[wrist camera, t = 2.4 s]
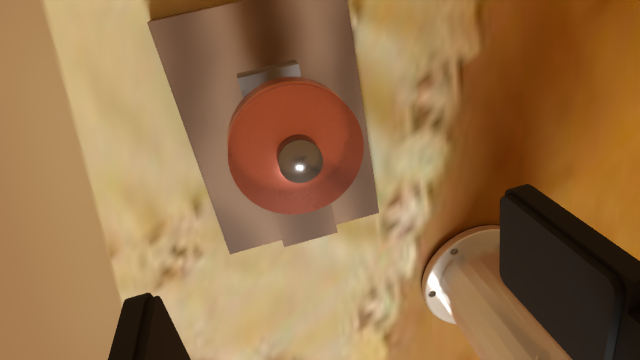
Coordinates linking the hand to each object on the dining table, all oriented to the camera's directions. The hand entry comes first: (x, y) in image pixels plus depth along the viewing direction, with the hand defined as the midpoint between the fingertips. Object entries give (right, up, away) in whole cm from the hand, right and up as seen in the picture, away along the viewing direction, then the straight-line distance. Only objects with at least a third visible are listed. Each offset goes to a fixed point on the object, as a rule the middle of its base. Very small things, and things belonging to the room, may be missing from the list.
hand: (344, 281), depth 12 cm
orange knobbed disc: (-4, +10, +21) cm, 23 cm away
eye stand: (-4, +7, +25) cm, 26 cm away
